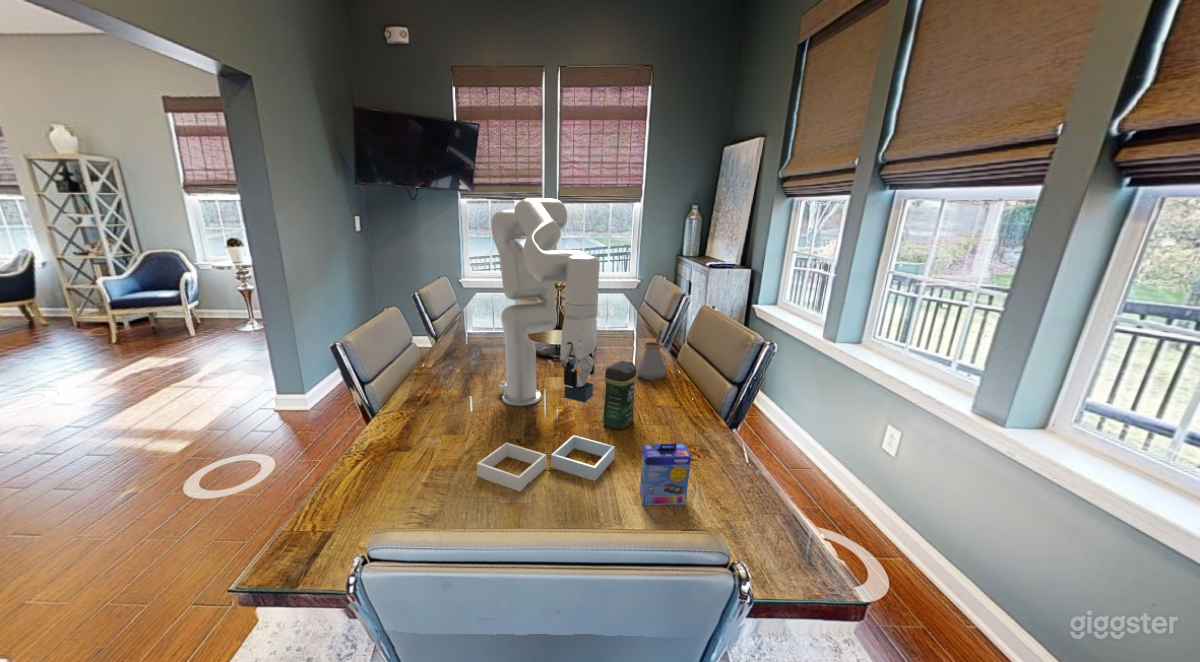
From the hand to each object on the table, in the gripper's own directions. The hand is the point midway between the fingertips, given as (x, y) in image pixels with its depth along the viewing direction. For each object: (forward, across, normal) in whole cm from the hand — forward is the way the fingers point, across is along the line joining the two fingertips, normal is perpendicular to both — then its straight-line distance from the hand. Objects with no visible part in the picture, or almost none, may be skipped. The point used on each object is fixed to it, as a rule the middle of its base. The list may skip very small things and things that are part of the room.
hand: (579, 378), depth 108 cm
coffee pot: (+23, -67, -3) cm, 71 cm away
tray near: (+21, +14, -10) cm, 27 cm away
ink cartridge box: (+21, +6, +25) cm, 33 cm away
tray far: (+21, +2, +3) cm, 22 cm away
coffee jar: (+22, -22, +2) cm, 31 cm away
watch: (+5, 0, 0) cm, 5 cm away
